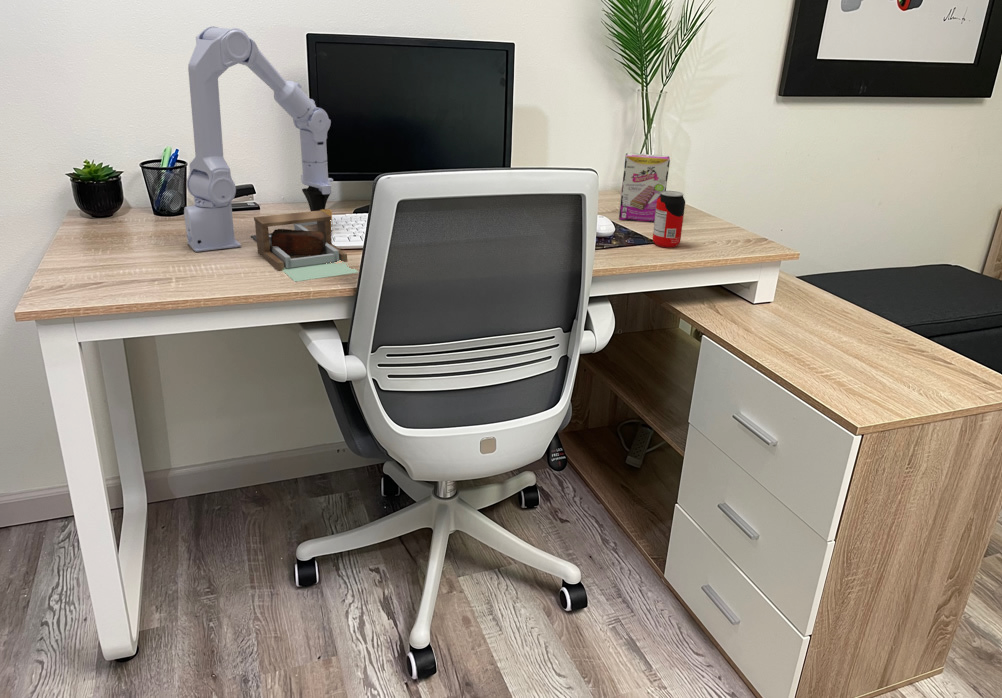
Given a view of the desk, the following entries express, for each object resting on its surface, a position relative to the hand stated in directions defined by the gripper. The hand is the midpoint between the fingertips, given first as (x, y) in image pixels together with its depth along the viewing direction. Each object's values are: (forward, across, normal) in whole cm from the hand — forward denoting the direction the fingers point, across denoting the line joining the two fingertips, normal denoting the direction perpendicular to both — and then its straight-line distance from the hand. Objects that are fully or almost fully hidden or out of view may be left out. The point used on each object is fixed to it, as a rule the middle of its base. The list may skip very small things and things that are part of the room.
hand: (318, 218), depth 185 cm
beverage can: (+2, -50, -65) cm, 82 cm away
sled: (+1, -17, +8) cm, 19 cm away
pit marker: (+2, -6, +13) cm, 15 cm away
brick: (+1, -22, +12) cm, 25 cm away
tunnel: (+2, -23, +12) cm, 26 cm away
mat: (+2, -33, +12) cm, 35 cm away
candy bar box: (+2, -29, -76) cm, 81 cm away
